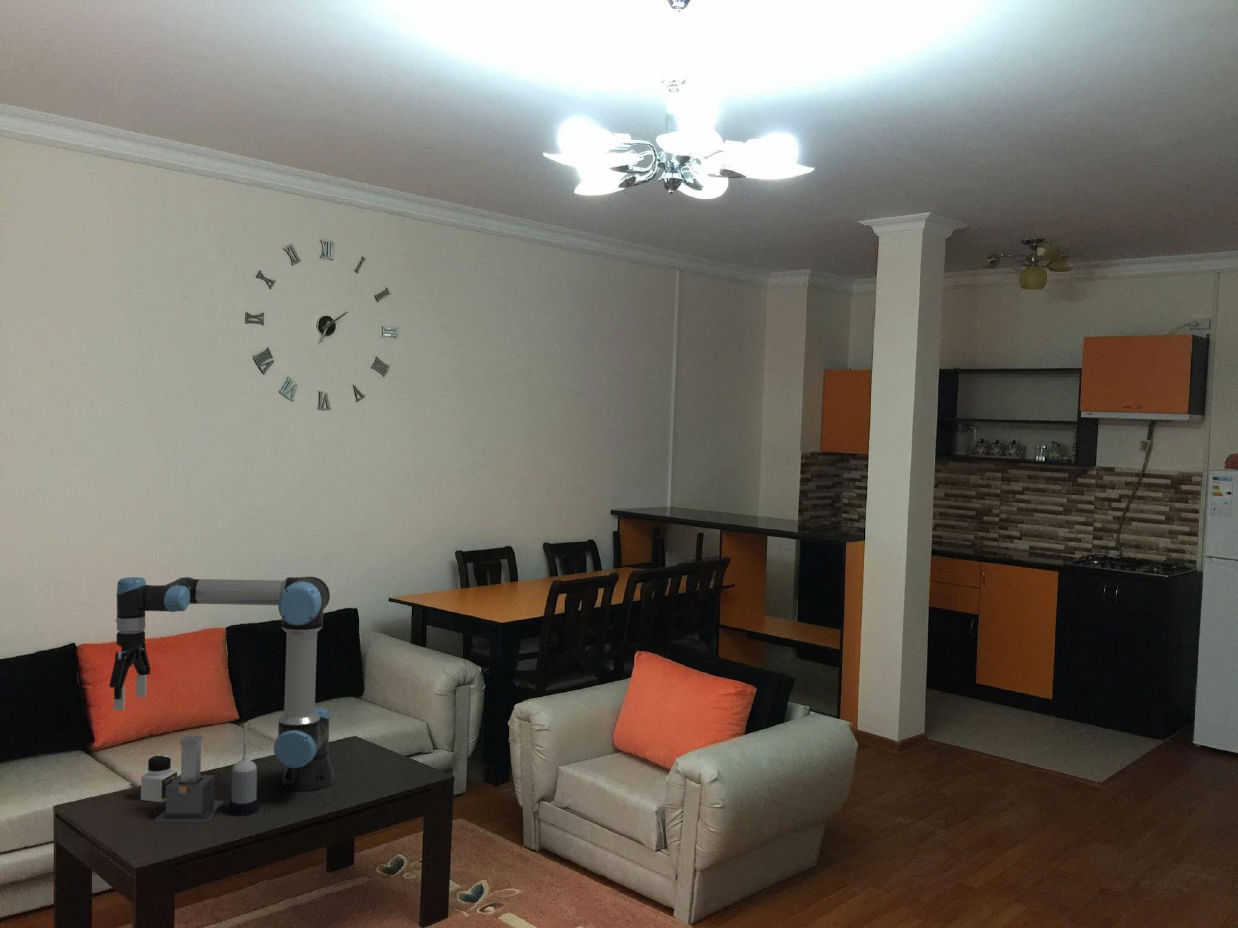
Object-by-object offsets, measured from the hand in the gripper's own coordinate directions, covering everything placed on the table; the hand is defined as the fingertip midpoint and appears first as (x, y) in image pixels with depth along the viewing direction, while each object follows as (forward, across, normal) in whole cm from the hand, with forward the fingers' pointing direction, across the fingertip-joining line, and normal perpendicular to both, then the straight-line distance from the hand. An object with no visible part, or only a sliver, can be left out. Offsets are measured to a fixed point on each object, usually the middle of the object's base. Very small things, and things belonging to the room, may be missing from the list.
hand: (130, 703), depth 300 cm
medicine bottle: (+28, -1, +8) cm, 29 cm away
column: (+28, +10, +22) cm, 37 cm away
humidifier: (+28, +8, +36) cm, 46 cm away
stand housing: (+28, +10, +22) cm, 37 cm away
